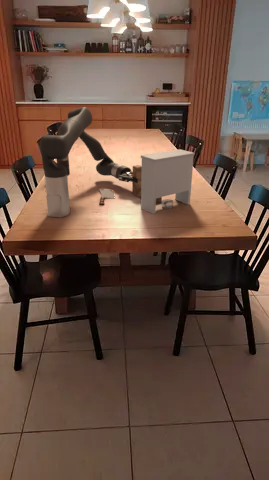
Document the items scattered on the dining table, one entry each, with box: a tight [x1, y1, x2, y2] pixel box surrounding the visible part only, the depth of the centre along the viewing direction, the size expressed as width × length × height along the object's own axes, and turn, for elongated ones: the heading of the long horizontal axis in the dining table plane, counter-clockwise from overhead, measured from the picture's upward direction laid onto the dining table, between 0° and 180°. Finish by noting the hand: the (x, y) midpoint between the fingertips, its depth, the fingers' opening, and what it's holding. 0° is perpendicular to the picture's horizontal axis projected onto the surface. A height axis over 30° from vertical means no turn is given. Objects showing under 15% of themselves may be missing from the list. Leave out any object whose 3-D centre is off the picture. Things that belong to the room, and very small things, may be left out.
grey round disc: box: [161, 198, 174, 210], centre depth 166 cm, size 5×5×3 cm
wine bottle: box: [56, 121, 71, 176], centre depth 209 cm, size 7×7×30 cm
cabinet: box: [140, 149, 196, 215], centre depth 162 cm, size 10×23×24 cm, turn 126°
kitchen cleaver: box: [97, 188, 116, 206], centre depth 178 cm, size 24×1×10 cm
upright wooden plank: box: [131, 164, 163, 204], centre depth 175 cm, size 18×4×14 cm, turn 36°
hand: (140, 180), depth 178 cm, fingers closed on upright wooden plank, 3 cm apart
